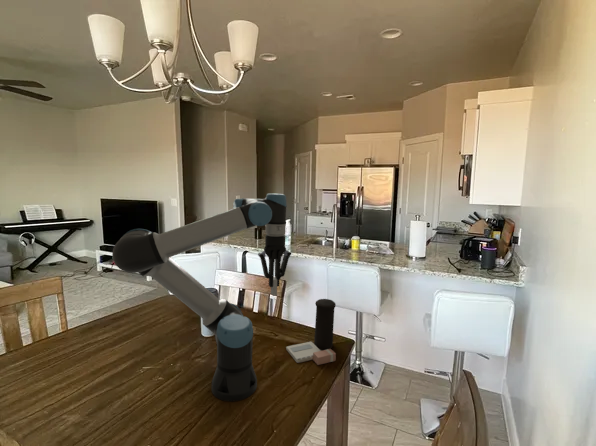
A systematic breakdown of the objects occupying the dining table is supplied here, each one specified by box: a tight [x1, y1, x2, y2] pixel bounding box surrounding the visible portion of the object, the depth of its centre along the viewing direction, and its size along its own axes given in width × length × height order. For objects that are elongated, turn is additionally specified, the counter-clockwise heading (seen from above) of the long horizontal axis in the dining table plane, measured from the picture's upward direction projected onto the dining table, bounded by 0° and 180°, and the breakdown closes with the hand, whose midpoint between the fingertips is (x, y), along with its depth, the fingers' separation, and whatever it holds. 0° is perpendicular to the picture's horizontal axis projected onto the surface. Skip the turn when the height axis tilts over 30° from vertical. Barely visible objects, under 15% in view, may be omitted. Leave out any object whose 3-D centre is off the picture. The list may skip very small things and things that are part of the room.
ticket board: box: [285, 341, 322, 364], centre depth 132 cm, size 12×11×1 cm
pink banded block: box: [312, 348, 337, 366], centre depth 127 cm, size 8×4×3 cm, turn 115°
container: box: [313, 298, 336, 351], centre depth 138 cm, size 9×9×20 cm
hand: (273, 294), depth 124 cm, fingers closed
